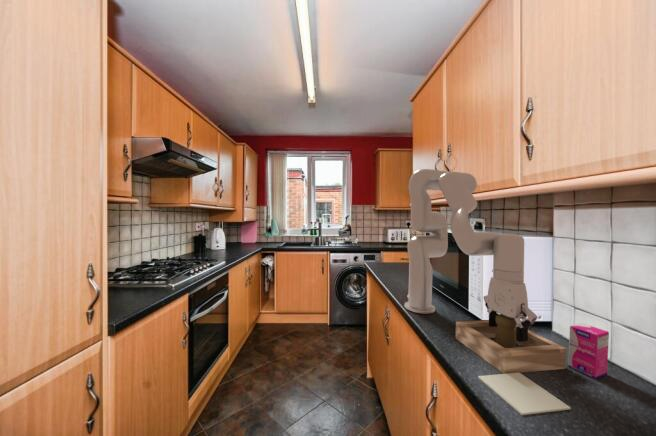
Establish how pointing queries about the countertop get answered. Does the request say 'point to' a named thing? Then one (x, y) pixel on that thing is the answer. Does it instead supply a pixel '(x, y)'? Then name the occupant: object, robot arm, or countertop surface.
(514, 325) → the cork
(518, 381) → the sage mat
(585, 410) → the countertop surface
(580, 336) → the supplement box
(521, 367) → the box
